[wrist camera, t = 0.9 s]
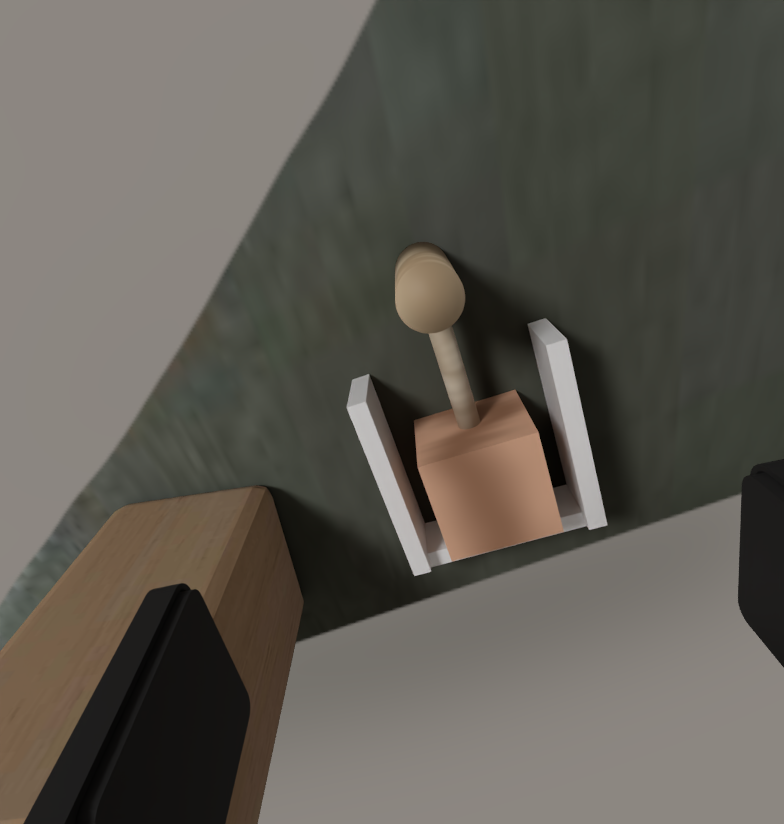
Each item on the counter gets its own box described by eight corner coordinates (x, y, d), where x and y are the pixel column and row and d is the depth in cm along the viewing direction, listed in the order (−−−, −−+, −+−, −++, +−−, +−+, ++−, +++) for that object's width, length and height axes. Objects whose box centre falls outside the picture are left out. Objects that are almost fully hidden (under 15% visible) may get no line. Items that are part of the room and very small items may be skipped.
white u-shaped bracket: (545, 318, 30) (567, 338, 26) (585, 493, 34) (609, 532, 30) (352, 379, 31) (346, 407, 27) (414, 539, 35) (416, 582, 32)
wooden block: (309, 602, 38) (228, 1015, 19) (168, 621, 38) (-40, 1036, 20) (272, 476, 34) (124, 843, 15) (115, 499, 34) (-205, 877, 16)
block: (471, 223, 28) (494, 240, 21) (538, 477, 34) (572, 550, 27) (358, 262, 28) (348, 290, 22) (443, 503, 34) (454, 580, 28)
